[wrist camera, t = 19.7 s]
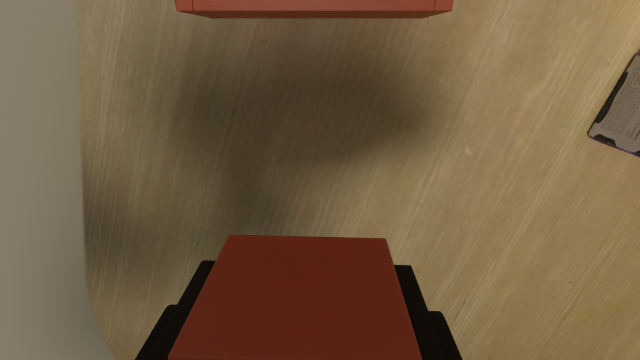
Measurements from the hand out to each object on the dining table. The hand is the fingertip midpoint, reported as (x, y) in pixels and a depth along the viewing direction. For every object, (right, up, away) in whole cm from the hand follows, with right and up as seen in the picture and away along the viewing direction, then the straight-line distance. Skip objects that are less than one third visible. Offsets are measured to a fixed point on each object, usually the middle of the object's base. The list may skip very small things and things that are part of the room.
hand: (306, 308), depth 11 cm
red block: (0, 0, 0) cm, 0 cm away
